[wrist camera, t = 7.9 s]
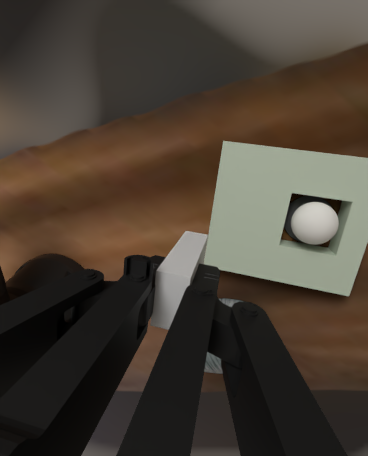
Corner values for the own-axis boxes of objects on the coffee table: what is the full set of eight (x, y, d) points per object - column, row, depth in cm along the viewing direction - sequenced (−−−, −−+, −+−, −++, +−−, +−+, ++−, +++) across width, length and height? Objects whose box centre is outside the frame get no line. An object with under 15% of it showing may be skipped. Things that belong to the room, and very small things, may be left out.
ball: (342, 251, 29) (314, 236, 34) (355, 208, 28) (323, 199, 32) (302, 250, 28) (279, 235, 33) (313, 206, 27) (287, 196, 32)
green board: (206, 258, 37) (203, 266, 35) (225, 142, 33) (223, 141, 30) (340, 285, 34) (349, 296, 31) (380, 161, 30) (395, 161, 27)
